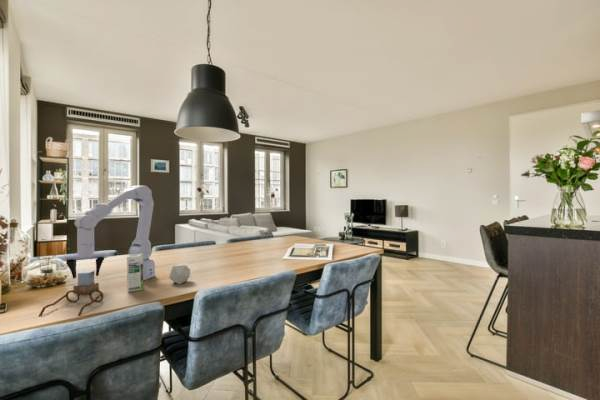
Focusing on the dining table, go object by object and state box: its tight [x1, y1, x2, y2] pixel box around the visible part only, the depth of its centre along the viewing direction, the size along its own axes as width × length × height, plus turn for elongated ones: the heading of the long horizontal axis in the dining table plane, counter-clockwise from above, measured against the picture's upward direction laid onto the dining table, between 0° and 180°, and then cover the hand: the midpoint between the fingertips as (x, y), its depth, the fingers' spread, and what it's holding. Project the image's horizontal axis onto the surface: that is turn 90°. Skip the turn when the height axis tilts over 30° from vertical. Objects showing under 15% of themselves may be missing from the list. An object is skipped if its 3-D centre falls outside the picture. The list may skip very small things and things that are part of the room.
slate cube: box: [77, 270, 95, 286], centre depth 120 cm, size 4×4×5 cm
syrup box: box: [126, 254, 144, 293], centre depth 122 cm, size 6×6×14 cm
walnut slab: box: [72, 281, 100, 294], centre depth 120 cm, size 6×6×3 cm
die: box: [168, 263, 191, 285], centre depth 131 cm, size 8×9×10 cm
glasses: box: [38, 289, 104, 318], centre depth 101 cm, size 13×13×5 cm
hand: (86, 276), depth 120 cm, fingers open, 7 cm apart
